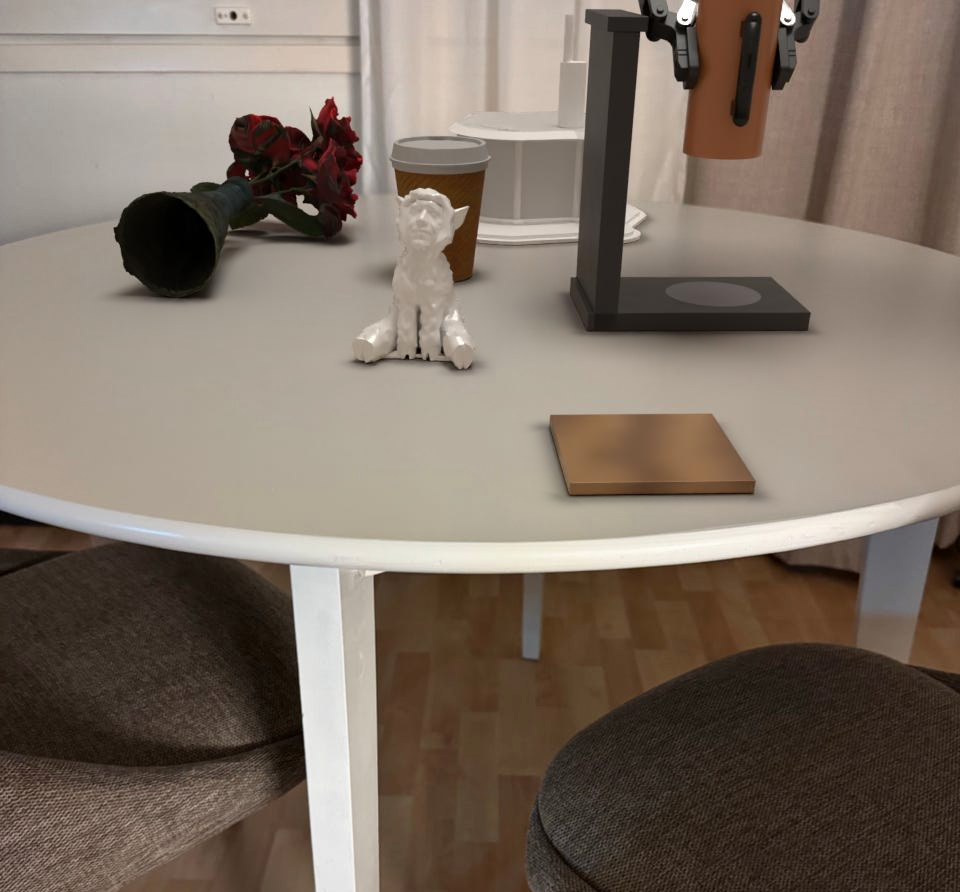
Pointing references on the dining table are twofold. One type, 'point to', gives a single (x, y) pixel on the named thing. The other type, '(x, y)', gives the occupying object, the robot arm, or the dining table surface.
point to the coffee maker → (604, 210)
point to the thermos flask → (732, 78)
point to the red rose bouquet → (243, 199)
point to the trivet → (647, 454)
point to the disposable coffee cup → (446, 185)
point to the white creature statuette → (422, 289)
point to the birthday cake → (537, 166)
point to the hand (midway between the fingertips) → (736, 81)
